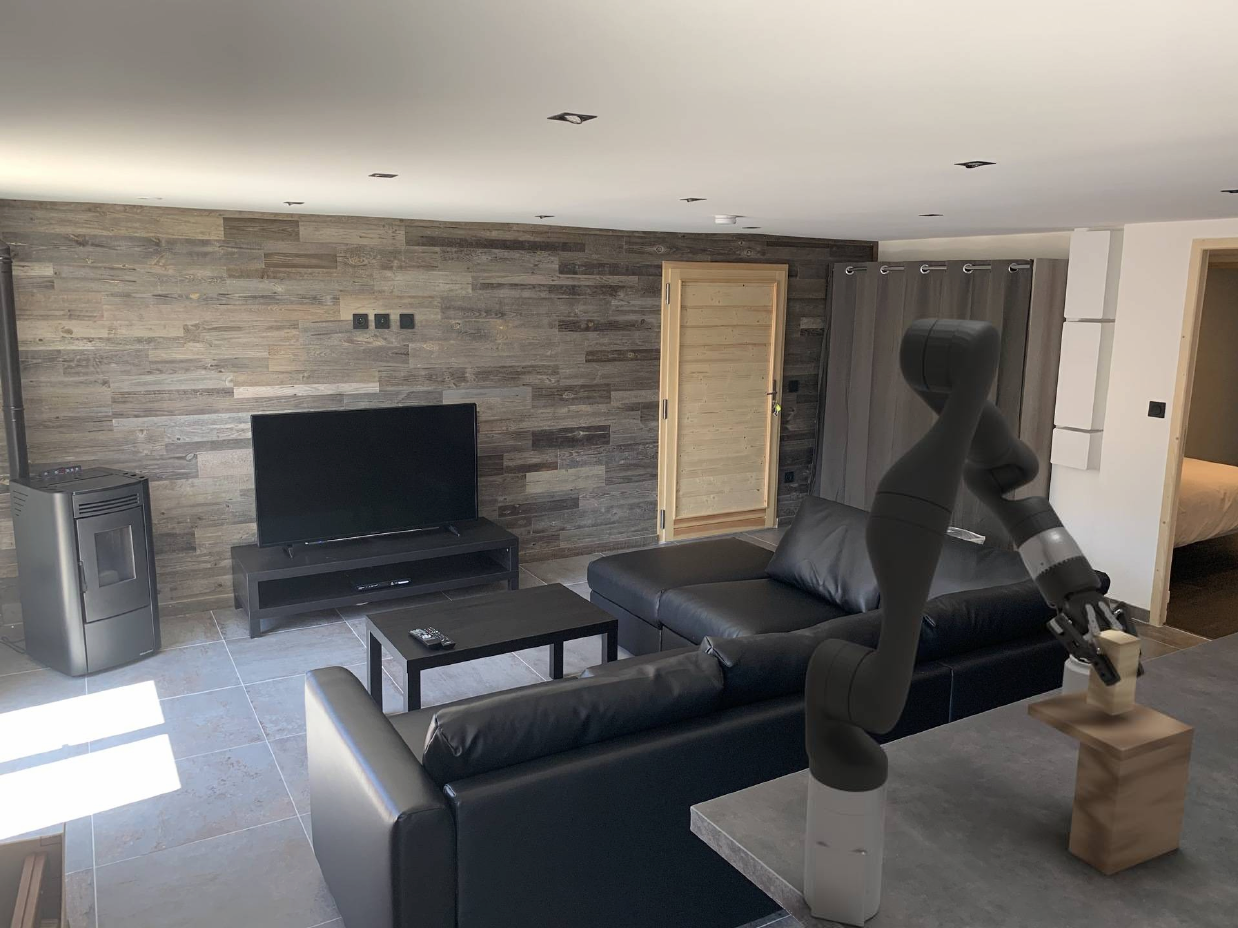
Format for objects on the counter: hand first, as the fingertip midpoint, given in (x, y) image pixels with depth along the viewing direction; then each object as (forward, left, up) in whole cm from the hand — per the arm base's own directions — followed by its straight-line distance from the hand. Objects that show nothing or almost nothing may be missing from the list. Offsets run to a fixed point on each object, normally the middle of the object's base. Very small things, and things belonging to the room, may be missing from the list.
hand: (1126, 679), depth 128 cm
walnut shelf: (+1, +1, -23) cm, 24 cm away
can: (+37, -1, -24) cm, 44 cm away
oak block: (+1, +1, -5) cm, 5 cm away
